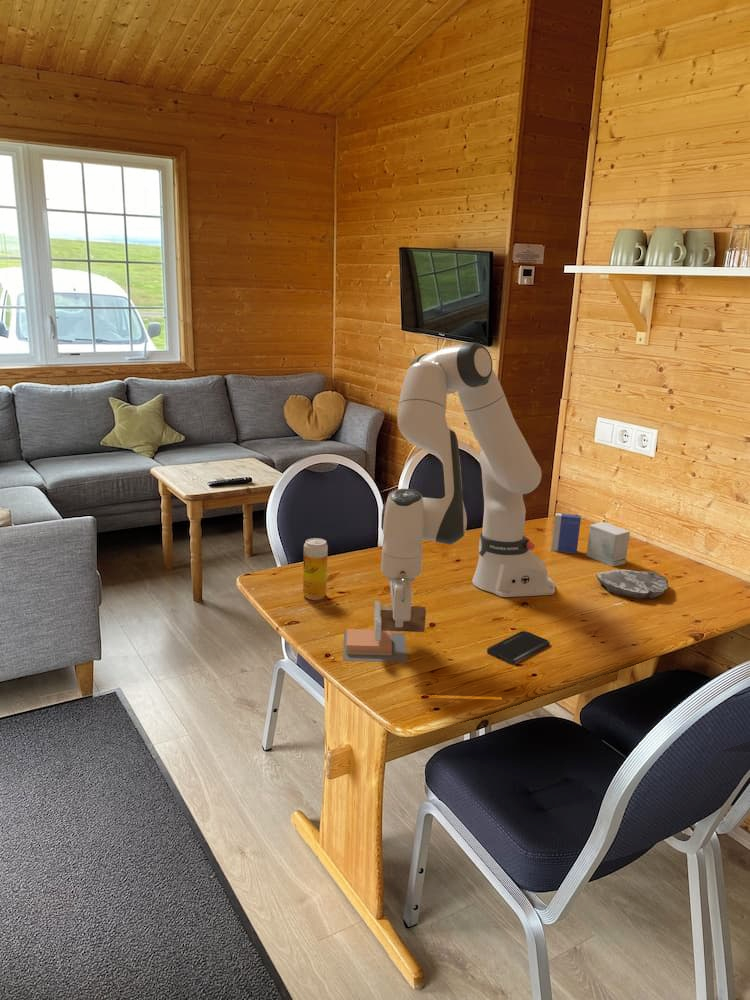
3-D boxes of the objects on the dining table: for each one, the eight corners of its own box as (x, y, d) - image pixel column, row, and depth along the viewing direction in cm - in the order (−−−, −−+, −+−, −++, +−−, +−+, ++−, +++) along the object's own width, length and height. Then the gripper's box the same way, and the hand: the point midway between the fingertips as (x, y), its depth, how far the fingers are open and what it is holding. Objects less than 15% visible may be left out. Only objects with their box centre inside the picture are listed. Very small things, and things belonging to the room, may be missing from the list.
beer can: (299, 593, 200) (300, 538, 195) (321, 590, 202) (323, 536, 198) (307, 602, 194) (308, 546, 190) (329, 599, 197) (331, 544, 193)
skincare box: (585, 556, 236) (589, 524, 233) (599, 553, 240) (603, 521, 237) (611, 567, 228) (616, 534, 225) (626, 563, 231) (631, 531, 228)
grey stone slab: (618, 605, 202) (619, 594, 201) (587, 580, 218) (589, 570, 217) (684, 601, 206) (686, 591, 205) (649, 577, 222) (651, 568, 221)
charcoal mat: (403, 635, 179) (403, 633, 179) (407, 664, 165) (407, 662, 165) (344, 633, 178) (344, 631, 178) (342, 662, 165) (342, 660, 165)
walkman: (576, 550, 240) (581, 514, 237) (576, 553, 238) (581, 517, 234) (551, 547, 242) (555, 511, 239) (550, 550, 240) (554, 514, 236)
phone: (551, 641, 177) (513, 661, 167) (551, 646, 177) (512, 666, 167) (523, 630, 182) (484, 648, 172) (523, 634, 183) (484, 653, 173)
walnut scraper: (421, 618, 177) (423, 598, 175) (426, 642, 165) (427, 620, 164) (373, 616, 176) (374, 596, 175) (374, 640, 165) (376, 619, 163)
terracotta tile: (390, 630, 175) (347, 628, 175) (392, 646, 167) (346, 645, 167) (390, 638, 176) (346, 637, 175) (391, 655, 168) (346, 653, 168)
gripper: (419, 583, 156) (415, 644, 160) (412, 548, 176) (409, 603, 180) (388, 582, 156) (385, 643, 160) (385, 547, 176) (382, 603, 180)
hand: (398, 622), depth 170 cm, fingers closed on walnut scraper, 2 cm apart
